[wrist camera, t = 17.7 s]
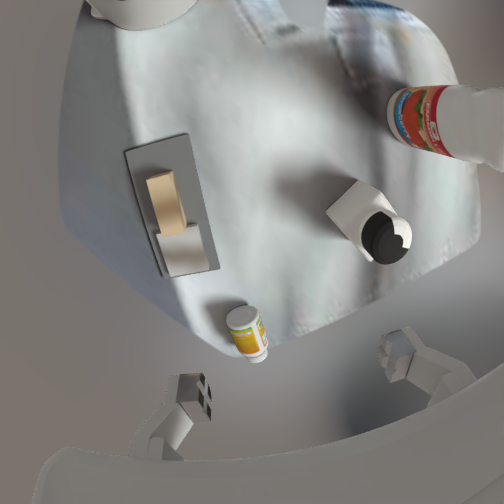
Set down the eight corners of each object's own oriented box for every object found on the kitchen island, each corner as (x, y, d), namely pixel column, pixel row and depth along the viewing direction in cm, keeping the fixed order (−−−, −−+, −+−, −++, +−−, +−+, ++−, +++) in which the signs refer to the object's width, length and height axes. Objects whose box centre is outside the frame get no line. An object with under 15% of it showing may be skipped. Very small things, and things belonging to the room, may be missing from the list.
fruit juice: (435, 140, 35) (580, 190, 10) (392, 152, 36) (553, 216, 10) (422, 85, 31) (576, 96, 6) (377, 92, 32) (549, 93, 6)
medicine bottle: (351, 241, 42) (386, 282, 31) (324, 211, 39) (356, 245, 28) (382, 211, 40) (426, 243, 29) (358, 178, 37) (401, 202, 26)
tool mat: (126, 151, 33) (125, 152, 33) (188, 133, 33) (188, 134, 33) (164, 277, 42) (164, 279, 42) (220, 267, 42) (220, 269, 41)
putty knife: (142, 178, 35) (135, 183, 32) (184, 167, 34) (179, 171, 32) (171, 273, 41) (168, 284, 38) (209, 266, 41) (207, 277, 38)
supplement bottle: (218, 318, 44) (236, 357, 48) (239, 331, 39) (255, 371, 44) (243, 300, 46) (257, 339, 50) (265, 311, 42) (277, 351, 46)
